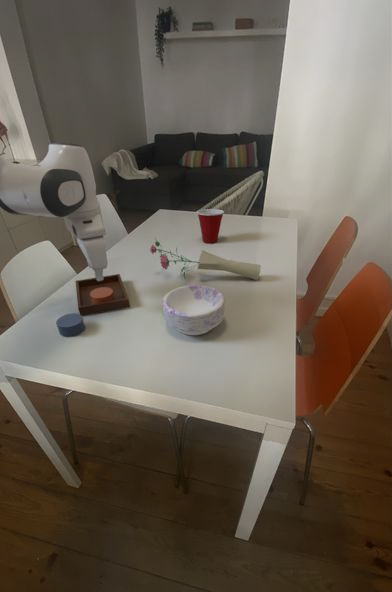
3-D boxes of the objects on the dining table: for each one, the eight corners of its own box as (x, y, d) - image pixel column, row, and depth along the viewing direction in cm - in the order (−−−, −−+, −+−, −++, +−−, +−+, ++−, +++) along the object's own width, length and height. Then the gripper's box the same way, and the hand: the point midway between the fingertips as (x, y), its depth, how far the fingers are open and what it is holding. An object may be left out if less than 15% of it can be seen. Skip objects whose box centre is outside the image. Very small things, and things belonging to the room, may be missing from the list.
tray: (129, 307, 90) (128, 299, 88) (80, 316, 87) (77, 307, 85) (120, 281, 103) (119, 273, 101) (77, 288, 100) (75, 280, 98)
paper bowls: (153, 334, 79) (150, 306, 74) (181, 305, 90) (179, 280, 85) (210, 349, 74) (210, 320, 69) (231, 316, 85) (233, 290, 80)
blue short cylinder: (59, 339, 78) (55, 329, 76) (59, 325, 83) (56, 316, 81) (86, 334, 80) (83, 324, 78) (84, 321, 85) (81, 311, 83)
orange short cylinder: (91, 298, 93) (88, 289, 91) (113, 294, 95) (111, 285, 93) (93, 309, 88) (91, 299, 86) (116, 304, 90) (114, 295, 88)
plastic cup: (223, 236, 135) (224, 206, 127) (222, 246, 126) (223, 214, 119) (198, 236, 136) (197, 206, 128) (195, 245, 127) (195, 214, 120)
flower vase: (249, 304, 105) (144, 282, 101) (249, 278, 111) (151, 257, 108) (261, 278, 95) (145, 253, 92) (261, 251, 102) (153, 227, 99)
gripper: (64, 212, 84) (77, 262, 93) (78, 234, 70) (92, 291, 78) (88, 208, 86) (99, 257, 95) (106, 229, 72) (117, 285, 80)
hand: (96, 273), depth 86 cm, fingers open, 8 cm apart
